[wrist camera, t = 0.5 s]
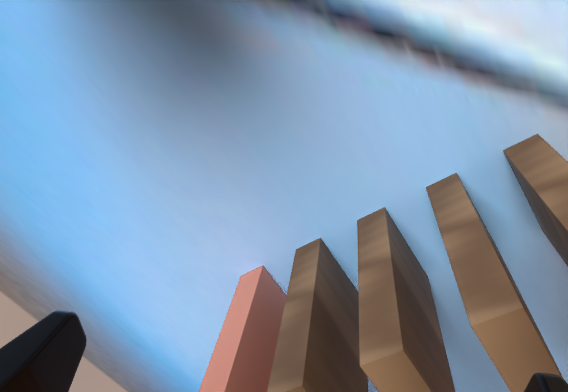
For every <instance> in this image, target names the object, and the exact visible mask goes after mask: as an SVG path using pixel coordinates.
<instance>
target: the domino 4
mask: <svg viewBox="0 0 568 392" xmlns="http://www.w3.org/2000/svg"><path fill="white" fill-rule="evenodd" d="M426 189H427V192H428V195H429V198H430V201H431V205H432V208H433V211H434V214H435V217H436V220H437V223H438V226H439V229H440V232H441V235H442V238H443V241H444V245H445V248H446V251H447V254H448V257H449V260H450V263H451V266H452V269H453V272H454V275H455V278H456V282H457V285H458V288H459V291H460V294H461V297H462V300H463V303H464V306H465V309H466V312H467V315H468V319H469V322H470V325H471V327H472V329H473V330H474V332H475V334H476V335H477V337H478V339H479V340H480V342H481V343H482V345H483V347H484V348H485V350H486V352H487V353H488V355H489V357H490V358H491V360H492V362H493V363H494V365H495V366H496V368H497V370H498V371H499V373H500V375H501V376H502V378H503V380H504V381H505V383H506V385H507V386H508V388H509V390H510V391H511V392H524V390H525V388H526V387H527V385H528V383H529V381H530V379H531V377H532V376H533V374H535V373H537V372H541V373H549V374H556V375H558V376H560V377H562V375H561V373H560V371H559V369H558V367H557V365H556V363H555V361H554V359H553V357H552V355H551V353H550V351H549V349H548V347H547V345H546V343H545V341H544V339H543V337H542V335H541V333H540V332H539V330H538V328H537V326H536V324H535V322H534V320H533V318H532V316H531V314H530V312H529V310H528V308H527V306H526V304H525V302H524V300H523V298H522V296H521V294H520V292H519V290H518V288H517V286H516V284H515V282H514V280H513V278H512V276H511V274H510V272H509V270H508V268H507V266H506V264H505V262H504V260H503V259H502V257H501V255H500V253H499V251H498V249H497V247H496V245H495V243H494V241H493V239H492V238H491V236H490V234H489V232H488V230H487V228H486V226H485V225H484V223H483V221H482V219H481V217H480V215H479V214H478V212H477V210H476V208H475V206H474V204H473V202H472V201H471V199H470V197H469V195H468V193H467V191H466V190H465V188H464V186H463V184H462V182H461V180H460V178H459V177H458V175H457V173H455V174H453V175H451V176H449V177H447V178H445V179H442V180H440V181H438V182H436V183H434V184H432V185H430V186H428V187H426ZM562 378H563V377H562Z"/></svg>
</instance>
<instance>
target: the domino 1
mask: <svg viewBox="0 0 568 392" xmlns="http://www.w3.org/2000/svg"><path fill="white" fill-rule="evenodd" d="M286 297H287V296H286V295H285V294H284V292H283V291H282V290H281V288H280V287H279V286H278V284H277V283H276V282H275V281H274V279H273V278H272V277H271V275H270V274H269V273H268V271H267V270H266V269H265V267H264V266H261V267H259V268H257V269H255V270H252V271H250V272H248V273H246V274H244V275H242V276H241V277H240V280H239V283H238V286H237V288H236V291H235V294H234V297H233V299H232V302H231V305H230V308H229V310H228V313H227V316H226V319H225V321H224V324H223V327H222V329H221V332H220V335H219V338H218V340H217V343H216V346H215V349H214V351H213V354H212V357H211V360H210V362H209V365H208V368H207V371H206V373H205V376H204V379H203V382H202V384H201V387H200V390H199V392H267V390H268V385H269V380H270V375H271V370H272V365H273V360H274V355H275V351H276V346H277V341H278V336H279V331H280V326H281V321H282V316H283V311H284V307H285V302H286Z"/></svg>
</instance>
